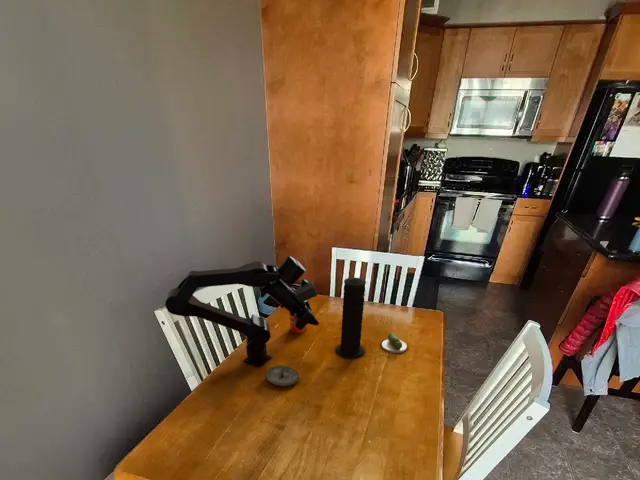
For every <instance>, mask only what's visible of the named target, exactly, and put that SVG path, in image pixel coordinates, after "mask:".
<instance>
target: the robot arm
mask: <svg viewBox="0 0 640 480" xmlns="http://www.w3.org/2000/svg"><path fill="white" fill-rule="evenodd" d="M306 271H307V269H306V268H305V267H304V266H303V265H302V264H301V263H300V261H298V260H297V259H295V258H294V257H292V256H291V255H289V254H288V255H287V256H286V257H285V258H284V260H283V261H282V262H281V264H279V266H278V265H271V264H265V263H264V262H262V261H252V262H249V263H245V264H243V265H241V266H239V267H233V268H222V269H221V268H220V269H208V270H191V271H189V272H188V273H187V274H186V276H185V277H184V279H182V281H180V283H179V284H178V285H177V287H175V288H172V289H170V290H169V292H168V293H167V297H166V299H165V304H164V305H165V309H166V310H167V312H168V313H170V314H171V315H174V316H179V317H184V318H186V317H187V318H189V317H197V318H199V319H202V320H205V321H208V322H211V323H213V324H216V325H219V326H221V327H225V328H228V329H230V330H234V331H236V332H238V333H240V334H241V335H243V336H245V341H246V346H245V349H246V356H247V357H246V358H244V360H243V361H244V362H245V363H247V364H251V365H253V366H256V367H261V366H262V365H264V364H265V363H266V362H268V360H270V359H271V356H270V355H268V350H267V349H268V348H267V343H268V342H269V341H270V340H271V331H270V325H269V323H268V321H266V320H265V318H264V317H260V316H257V315H256V314H251V316H250V317H243V316H240V315H237V314H236V313H232V312H230V311H227V310H224V309H221V308H219V307H216V306H213V305H211V304H208V303H206V302H203V301H200V299H198V298H197V297H196V296H195V295H194V294H195V292H196V291H197V289H200V288H211V287H218V286H219V287H222V286H231V285H242V286H246V287H251V288H258V290H259V296H260V298H261V299H263V298H264V297H265V296H266V295H268V296H269V297H270V298H272V299H273V300H274V301H276V302H277V303H278V304H279V307H280V308H281V309H285V310H286V311H287V312H288V314H289V313H290V315H291V316H293V315H294V314H296V316H295V317H294V324H295V327H296V328H298V329H299V330H302V329H303V328H304V327H305V326H307V325H313V326H319V325H320V322H319V320H318V319H317V317H316V316H315V315H314V312H313V310H312V306H311V305H310V302H309V300H310V299H312V298H315V297H317V296H318V292H317V290H316V288H315V286H314V284H313V282H312V281H310V280H306V279H305V278H303V279H301V280H300V281H299V286H298V287H297V288H296V289H295V288H294V287H289V286H292V285H295V284H296V283H297V281H298V280H299V279H300V278H302V276H303V275H305V273H306ZM306 300H307V302H306V303H305V302H304V301H306ZM305 328H306V327H305Z"/></svg>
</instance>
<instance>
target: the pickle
mask: <svg viewBox="0 0 640 480" xmlns="http://www.w3.org/2000/svg"><path fill="white" fill-rule="evenodd" d="M381 348H382V349H383V350H384V351H385V352H387V353H392V354H401V353H404V352H406V351H407V349H408V345H407V343H406V342H405V341H404V340H401V339H399V337H398V335H396V334H395V333H393V332H391V333H389V334H388V335H387V338H386V339H384V340H383V341H382V342H381Z"/></svg>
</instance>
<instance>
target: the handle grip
mask: <svg viewBox="0 0 640 480" xmlns="http://www.w3.org/2000/svg"><path fill="white" fill-rule="evenodd" d="M343 283H344V286H343V293H342V294H343V296H342V297H343V298H342V315H341V318H342V319H341V335H340V344H339V345H338V346H337V347H336V348H335V352H336V354H337V355H338V356H340V357H342V358H344V359H357V358H360V357H362V356H363V355H364V354H365V349H364V347H363V346H361V340H362V332H363V331H362V330H363V329H362V328H363V319H364V309H365V308H364V305H365V295H366V285H367V281H366V279H363V278H360V277H347V278H345V279H344V280H343Z"/></svg>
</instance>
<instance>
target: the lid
mask: <svg viewBox="0 0 640 480" xmlns="http://www.w3.org/2000/svg"><path fill="white" fill-rule="evenodd" d="M265 379H266V380H267V381H268V383H270V384H273V385H275V386H278V387H290V386H293V385H296V384H297V383H298V382H299V380H300V373H299V372H298V371H297V370H296V369H295V368H293V367H291V366H287V365H275V366H271V367H270V368H268V369H267V370H266V372H265Z"/></svg>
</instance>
